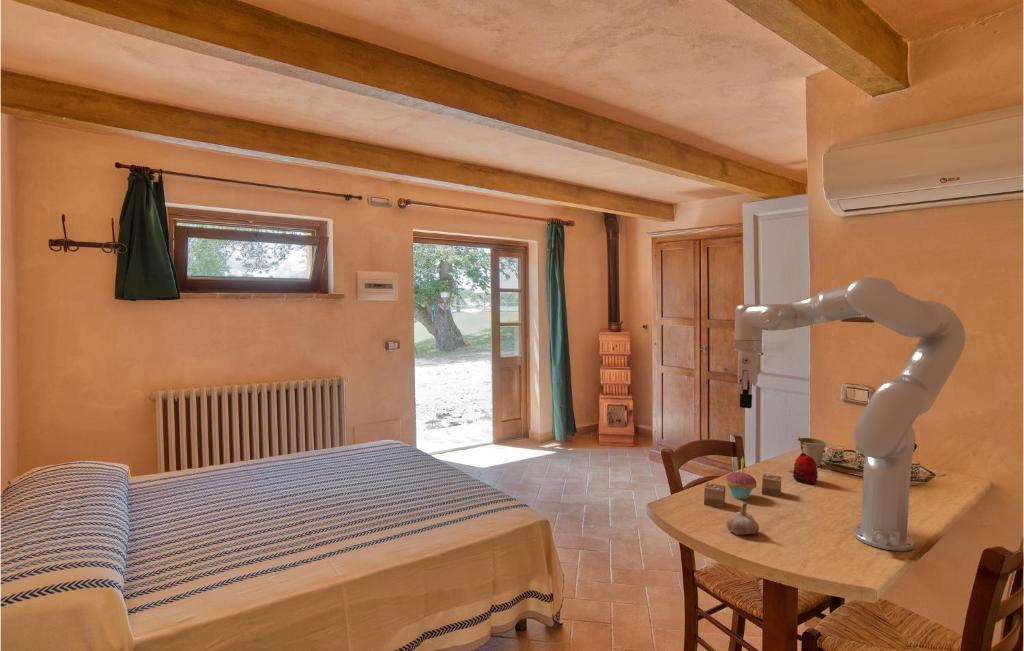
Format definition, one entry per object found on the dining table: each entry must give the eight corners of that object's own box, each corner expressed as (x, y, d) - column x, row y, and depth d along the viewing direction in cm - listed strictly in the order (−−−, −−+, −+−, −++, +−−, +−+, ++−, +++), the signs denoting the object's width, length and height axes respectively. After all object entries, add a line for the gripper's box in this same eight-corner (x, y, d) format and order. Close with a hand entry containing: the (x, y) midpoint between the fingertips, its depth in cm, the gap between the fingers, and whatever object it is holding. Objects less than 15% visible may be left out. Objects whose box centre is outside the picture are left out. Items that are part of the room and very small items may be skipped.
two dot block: (780, 497, 162) (780, 480, 162) (761, 494, 165) (762, 477, 164) (780, 492, 167) (781, 476, 166) (762, 489, 169) (763, 473, 169)
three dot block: (722, 508, 153) (723, 490, 153) (704, 504, 155) (704, 487, 155) (724, 502, 157) (725, 485, 157) (706, 499, 160) (707, 482, 160)
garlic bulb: (763, 533, 137) (764, 502, 137) (751, 542, 132) (752, 510, 132) (733, 524, 143) (734, 494, 142) (721, 532, 137) (722, 501, 137)
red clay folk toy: (821, 485, 173) (824, 439, 173) (799, 485, 173) (801, 438, 173) (809, 477, 181) (811, 433, 180) (788, 477, 181) (790, 432, 180)
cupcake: (727, 489, 168) (729, 451, 168) (757, 494, 164) (759, 455, 163) (722, 498, 161) (724, 458, 160) (753, 504, 157) (755, 463, 156)
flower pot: (802, 458, 202) (803, 436, 202) (830, 465, 195) (831, 441, 195) (791, 463, 196) (792, 440, 196) (819, 470, 189) (820, 445, 189)
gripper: (760, 348, 152) (757, 413, 153) (763, 344, 165) (761, 404, 166) (731, 347, 155) (729, 410, 156) (736, 343, 168) (734, 402, 169)
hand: (745, 407), depth 161 cm, fingers closed
